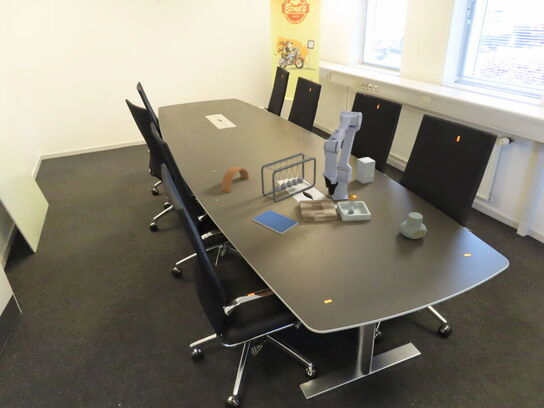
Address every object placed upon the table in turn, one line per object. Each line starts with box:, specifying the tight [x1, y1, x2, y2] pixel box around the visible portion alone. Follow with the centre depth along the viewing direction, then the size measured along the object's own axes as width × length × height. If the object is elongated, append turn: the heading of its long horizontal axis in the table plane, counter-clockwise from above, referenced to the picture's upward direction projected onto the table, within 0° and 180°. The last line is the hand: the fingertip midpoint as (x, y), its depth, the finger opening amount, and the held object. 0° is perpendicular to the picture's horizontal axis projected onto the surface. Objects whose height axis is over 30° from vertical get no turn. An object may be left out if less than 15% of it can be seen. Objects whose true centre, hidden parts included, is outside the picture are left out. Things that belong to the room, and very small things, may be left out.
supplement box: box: [355, 156, 376, 185], centre depth 201 cm, size 7×7×13 cm
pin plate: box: [299, 198, 338, 222], centre depth 174 cm, size 16×16×2 cm
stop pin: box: [347, 193, 358, 214], centre depth 170 cm, size 4×4×9 cm
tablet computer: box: [252, 209, 299, 235], centre depth 168 cm, size 19×13×1 cm, turn 46°
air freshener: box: [399, 211, 428, 240], centre depth 153 cm, size 11×8×10 cm
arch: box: [221, 166, 250, 194], centre depth 202 cm, size 6×20×10 cm, turn 150°
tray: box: [336, 200, 372, 222], centre depth 172 cm, size 13×13×3 cm
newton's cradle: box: [260, 152, 317, 203], centre depth 191 cm, size 30×10×18 cm, turn 128°
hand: (329, 191), depth 171 cm, fingers open, 7 cm apart
